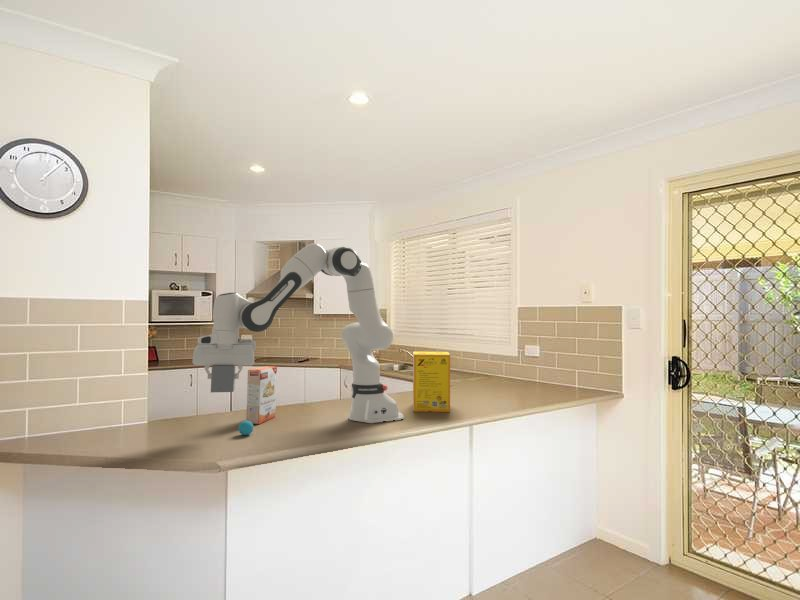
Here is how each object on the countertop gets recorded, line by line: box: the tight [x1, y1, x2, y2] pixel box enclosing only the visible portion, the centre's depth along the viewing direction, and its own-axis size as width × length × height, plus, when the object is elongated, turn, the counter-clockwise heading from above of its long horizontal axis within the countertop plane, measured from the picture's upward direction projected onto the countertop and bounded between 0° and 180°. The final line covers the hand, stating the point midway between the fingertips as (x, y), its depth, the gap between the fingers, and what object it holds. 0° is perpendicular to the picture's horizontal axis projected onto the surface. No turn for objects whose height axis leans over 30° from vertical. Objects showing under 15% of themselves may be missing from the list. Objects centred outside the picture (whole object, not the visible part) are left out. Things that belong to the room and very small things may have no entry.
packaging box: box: [412, 351, 451, 413], centre depth 214 cm, size 16×16×25 cm
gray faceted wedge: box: [210, 366, 236, 393], centre depth 163 cm, size 7×7×9 cm
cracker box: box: [245, 365, 278, 425], centre depth 187 cm, size 14×6×21 cm, turn 168°
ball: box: [238, 420, 254, 436], centre depth 164 cm, size 5×5×5 cm
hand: (223, 378), depth 163 cm, fingers closed on gray faceted wedge, 7 cm apart
